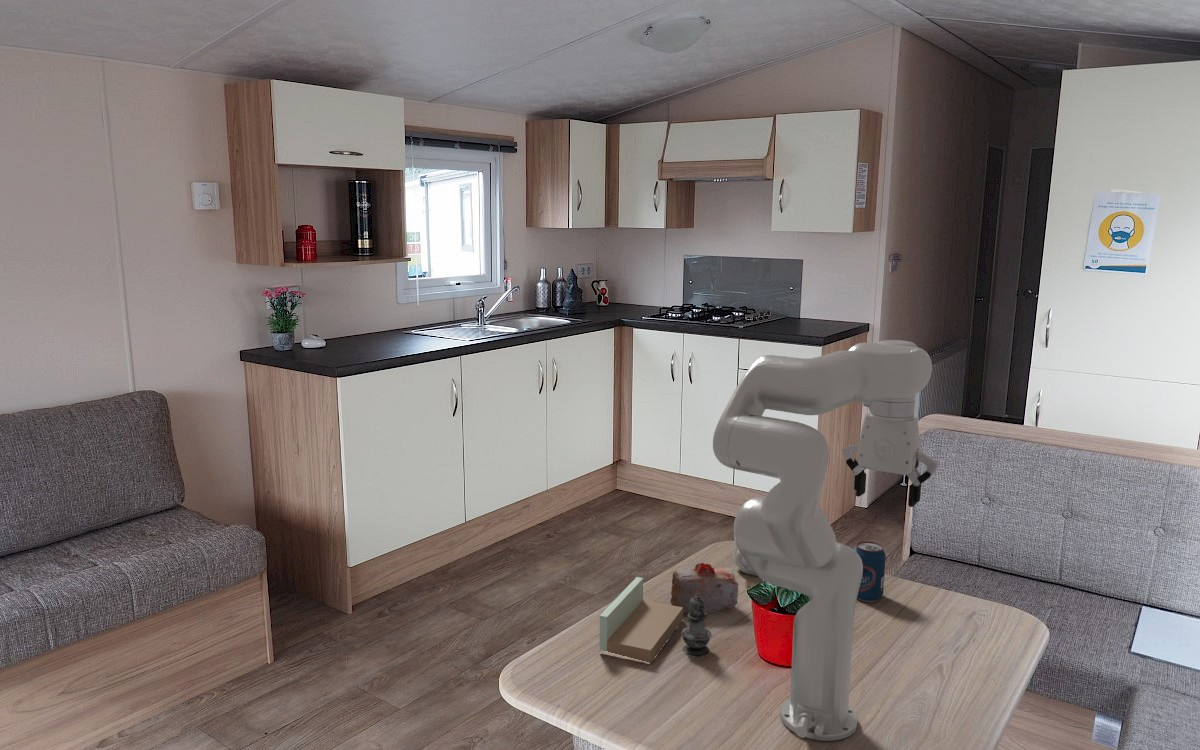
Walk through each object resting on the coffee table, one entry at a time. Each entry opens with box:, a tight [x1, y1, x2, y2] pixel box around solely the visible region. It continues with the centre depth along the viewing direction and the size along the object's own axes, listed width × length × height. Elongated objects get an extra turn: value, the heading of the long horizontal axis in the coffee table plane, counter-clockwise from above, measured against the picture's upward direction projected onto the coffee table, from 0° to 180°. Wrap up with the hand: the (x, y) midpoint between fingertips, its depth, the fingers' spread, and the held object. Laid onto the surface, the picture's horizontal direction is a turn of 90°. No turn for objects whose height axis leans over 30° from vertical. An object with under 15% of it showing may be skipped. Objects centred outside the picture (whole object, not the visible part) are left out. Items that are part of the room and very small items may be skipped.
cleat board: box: [599, 576, 684, 663], centre depth 173 cm, size 20×10×8 cm, turn 157°
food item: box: [670, 562, 739, 614], centre depth 186 cm, size 14×8×10 cm, turn 102°
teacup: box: [732, 537, 758, 576], centre depth 205 cm, size 14×11×8 cm
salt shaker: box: [680, 593, 712, 658], centre depth 167 cm, size 6×6×12 cm
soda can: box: [853, 541, 887, 603], centre depth 192 cm, size 7×7×12 cm
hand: (886, 499), depth 158 cm, fingers open, 9 cm apart
